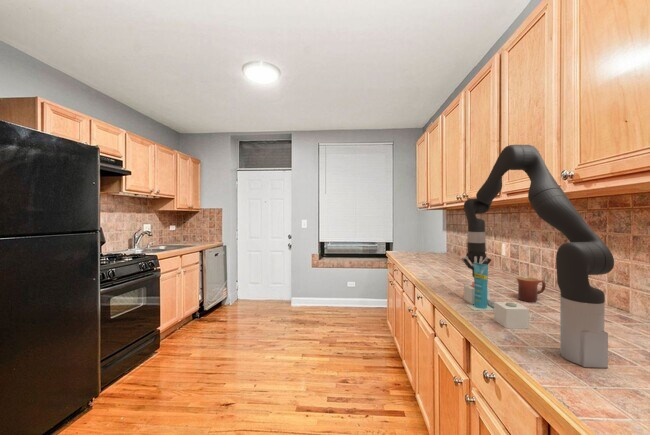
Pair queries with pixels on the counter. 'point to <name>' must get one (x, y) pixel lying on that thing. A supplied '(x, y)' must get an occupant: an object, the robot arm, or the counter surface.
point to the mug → (529, 288)
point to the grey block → (472, 293)
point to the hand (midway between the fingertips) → (476, 278)
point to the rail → (490, 302)
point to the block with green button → (511, 315)
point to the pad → (479, 308)
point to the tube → (480, 285)
